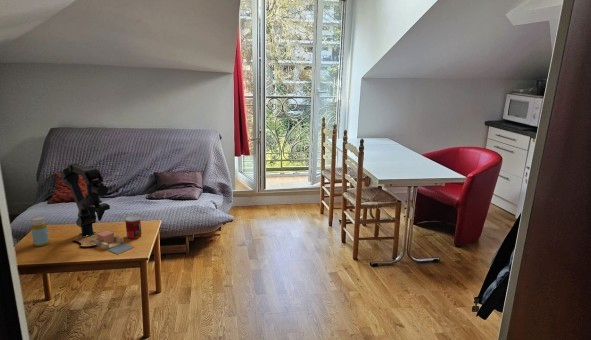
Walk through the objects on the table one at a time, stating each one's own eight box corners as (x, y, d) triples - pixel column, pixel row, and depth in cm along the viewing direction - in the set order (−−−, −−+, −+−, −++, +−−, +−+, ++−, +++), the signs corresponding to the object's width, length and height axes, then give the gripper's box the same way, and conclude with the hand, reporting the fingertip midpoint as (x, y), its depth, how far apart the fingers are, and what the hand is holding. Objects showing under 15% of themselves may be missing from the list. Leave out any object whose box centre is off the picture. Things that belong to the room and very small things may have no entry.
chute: (93, 244, 220) (92, 239, 219) (110, 238, 228) (109, 233, 228) (106, 250, 214) (106, 245, 213) (123, 243, 222) (123, 238, 222)
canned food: (136, 239, 227) (135, 221, 224) (123, 238, 228) (122, 220, 226) (144, 234, 234) (143, 216, 231) (131, 233, 236) (130, 215, 233)
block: (97, 242, 221) (96, 233, 220) (107, 238, 226) (106, 230, 225) (104, 245, 218) (103, 236, 217) (114, 241, 223) (113, 232, 222)
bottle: (52, 242, 221) (48, 216, 217) (39, 247, 215) (35, 221, 211) (43, 240, 224) (39, 214, 220) (31, 245, 218) (26, 218, 214)
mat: (107, 250, 214) (107, 249, 214) (124, 243, 222) (124, 243, 222) (117, 254, 209) (117, 253, 209) (134, 247, 218) (134, 246, 218)
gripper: (68, 192, 217) (72, 220, 221) (89, 199, 207) (92, 228, 211) (88, 187, 226) (91, 214, 230) (109, 194, 217) (112, 221, 221)
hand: (96, 219), depth 223 cm, fingers open, 6 cm apart
